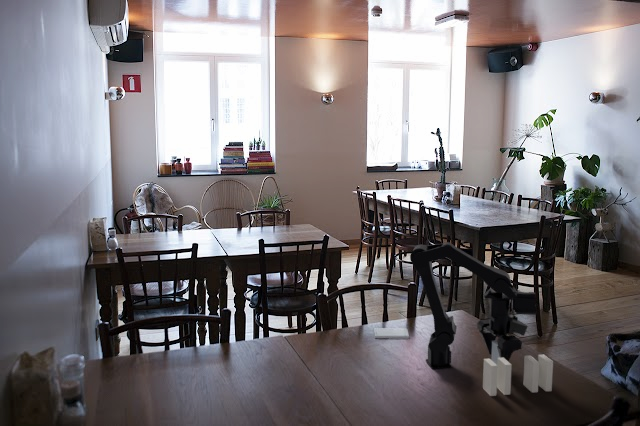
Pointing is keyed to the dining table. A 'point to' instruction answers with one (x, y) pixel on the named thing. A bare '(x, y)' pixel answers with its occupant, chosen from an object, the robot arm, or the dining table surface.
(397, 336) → the hard drive
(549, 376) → the domino
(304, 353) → the dining table surface
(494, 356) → the domino
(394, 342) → the dining table surface
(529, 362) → the domino
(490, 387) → the domino
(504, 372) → the domino
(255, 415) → the dining table surface
